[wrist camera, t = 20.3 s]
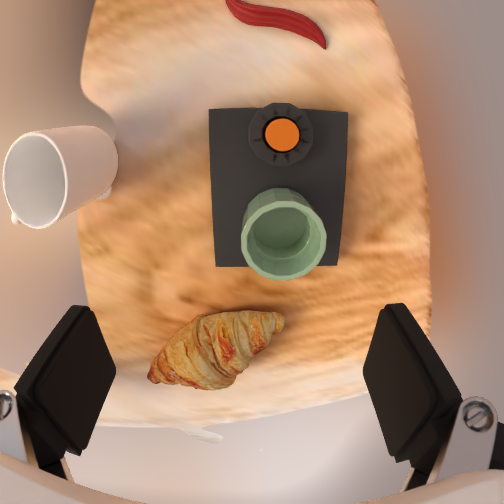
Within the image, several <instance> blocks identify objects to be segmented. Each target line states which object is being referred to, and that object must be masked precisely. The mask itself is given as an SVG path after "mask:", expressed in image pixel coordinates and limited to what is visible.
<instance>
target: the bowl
mask: <svg viewBox="0 0 504 504" xmlns="http://www.w3.org/2000/svg"><path fill="white" fill-rule="evenodd" d="M326 239H327V234H326V231H325V228H324V225H323V222H322V220H321V218H320V217H319V215H318V214H317V213H316V211H315V210H314V208H313V207H312V205H311V204H310V203H309V202H308V201H307V200H306V199H305V198H304V197H303V196H302V195H301V194H300V193H298V192H295V191H293V190H291V189H287V188H272V189H269V190H267V191H264V192H262V193H259V194H258V195H257V196H256V197H255V198H254V199H253V200H252V201H251V202H250V203H249V204H248V206H247V209H246V211H245V213H244V216H243V223H242V233H241V250H242V253H243V255H244V257H245V259H246V261H247V263H248V265H249V266H250V267H251V268H252V269H253V270H255V271H256V272H257V273H258V274H259V275H261V276H264V277H266V278H269V279H272V280H275V281H280V280H293V279H296V278H298V277H301V276H304V275H306V274H307V273H308V272H310V271H311V270H312V269H313V268H314V267H315V266H317V265H318V263H319V261H320V260H321V258H322V256H323V254H324V252H325V249H326Z"/></svg>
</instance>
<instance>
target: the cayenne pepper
mask: <svg viewBox="0 0 504 504" xmlns="http://www.w3.org/2000/svg"><path fill="white" fill-rule="evenodd" d="M226 3H227V5H228V8H229V9H230V11H231V12H232V14H233V15H234V16H235V17H236V18H237V19H239V20H240V21H242V22H243V23H246V24H249V25H254V26H267V27H276V28H280V29H284V30H288V31H291V32H294V33H297V34H299V35H302V36H304V37H306V38H308V39H311V40H313V41H314V42H316V43H318V44H319V45H320V46H321V47H322V48H323V49H326V40H325V37H324V34H323V32H322V30H321V29H320V28H319V26H318V25H317V24H316V23H315V22H313V21H312V20H311V19H309V18H308V17H306V16H304V15H302V14H300V13H297V12H294V11H291V10H287V9H282V8H275V7H267V6H260V5H254V4H249V3H246V2H243V1H241V0H226Z"/></svg>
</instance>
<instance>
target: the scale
mask: <svg viewBox="0 0 504 504" xmlns="http://www.w3.org/2000/svg"><path fill="white" fill-rule="evenodd" d="M277 119H288V120H290V121H292V122H293V123H294V124H295V125H296V126H297V128H298V130H299V141H298V143H297V144H296V146H295V147H293V148H292V149H290V150H288V151H278V150H276V149H274V148H272V147H271V146H270V145H269V144H268V142H267V140H266V137H265V132H266V128H267V126H268V125H269V124H270V123H271V122H272V121H274V120H277ZM347 132H348V113H347V112H337V111H326V110H312V109H299V108H297V107H295V106H294V105H292V104H290V103H272V104H270V105H268V106H266V107H264V108H227V109H209V144H210V172H211V195H212V214H213V232H214V248H215V263H216V267H250V266H249V265H248V263H247V261H246V259H245V257H244V255H243V253H242V250H241V233H242V223H243V216H244V213H245V211H246V209H247V206H248V204H249V203H250V202H251V201H252V200H253V199H254V198H255V197H256V196H257V195H258V194H259V193H262V192H264V191H267V190H269V189H272V188H287V189H291V190H293V191H295V192H298V193H300V194H301V195H302V196H303V197H304V198H305V199H306V200H307V201H308V202H309V203H310V204H311V205H312V207H313V208H314V210H315V211H316V213H317V214H318V215H319V217H320V218H321V220H322V222H323V225H324V228H325V231H326V234H327V239H326V249H325V252H324V254H323V256H322V258H321V260H320V261H319V263H318V265H317V266H336V265H337V262H338V254H339V246H340V236H341V227H342V216H343V205H344V192H345V177H346V159H347Z"/></svg>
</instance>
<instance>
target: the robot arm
mask: <svg viewBox="0 0 504 504" xmlns="http://www.w3.org/2000/svg"><path fill="white" fill-rule="evenodd" d="M115 375H116V367H115V364H114V362H113V360H112V357H111V355H110V353H109V350H108V348H107V345H106V343H105V340H104V338H103V335H102V333H101V330H100V327H99V325H98V322H97V319H96V317H95V314H94V312H93V311H91V310H90V308H89V307H88V306H79V305H73V306H71V307H70V308H69V310H68V311H67V312H66V314H65V315H64V316H63V317H62V319H61V320H60V321H59V323H58V324H57V325H56V327H55V328H54V329H53V331H52V332H51V333H50V335H49V336H48V338H47V339H46V340H45V342H44V343H43V345H42V346H41V347H40V349H39V350H38V352H37V353H36V354H35V356H34V357H33V359H32V360H31V362H30V363H29V365H28V366H27V368H26V369H25V371H24V372H23V374H22V375H21V377H20V378H19V380H18V382H17V383H16V385H15V386H14V389H15V391H16V392H17V395H16V396H14V394H13V393H12V392H10V391H8V390H0V504H145V503H141V502H136V501H132V500H128V499H123V498H120V497H116V496H113V495H109V494H105V493H102V492H99V491H96V490H92V489H90V488H87V487H83V486H81V485H78V484H76V483H74V480H73V478H72V475H71V473H70V470H69V468H68V465H67V463H66V460H65V457H64V454H65V451H67V452H69V453H72V454H75V455H78V456H80V455H81V453H82V450H84V449H86V447H87V445H88V443H89V440H90V437H91V435H92V432H93V429H94V427H95V424H96V421H97V419H98V416H99V414H100V411H101V409H102V406H103V404H104V401H105V399H106V397H107V394H108V392H109V389H110V387H111V385H112V382H113V380H114V378H115ZM363 376H364V379H365V382H366V385H367V388H368V391H369V393H370V396H371V399H372V402H373V405H374V408H375V411H376V414H377V417H378V420H379V423H380V426H381V430H382V432H383V436H384V439H385V442H386V446H387V449H388V452H389V454H390V455H391V456H394V457H395V460H396V463H398V462H402V461H405V460H409V461H410V464H411V470H410V472H409V474H408V476H407V478H406V480H405V482H404V484H403V486H402V488H401V490H400V492H399V493H398V494H394V495H391V496H387V497H383V498H379V499H375V500H371V501H366V502H362V503H357V504H504V424H502V423H500V422H498V415H497V412H496V409H495V408H494V406H493V405H492V404H491V403H490V402H489V401H488V400H486V399H484V398H482V397H477V396H475V397H469V398H467V399H465V400H464V401H463V399H462V397H461V393H460V391H459V390H458V388H457V386H456V384H455V383H454V381H453V379H452V377H451V376H450V374H449V372H448V370H447V369H446V367H445V366H444V364H443V362H442V360H441V359H440V357H439V356H438V354H437V353H436V351H435V349H434V348H433V346H432V345H431V343H430V341H429V340H428V338H427V337H426V335H425V334H424V332H423V330H422V329H421V327H420V326H419V324H418V323H417V321H416V320H415V318H414V317H413V315H412V314H411V313H410V311H409V310H408V308H407V307H406V305H405V304H404V303H395V304H387V305H386V306H385V308H384V309H381V310H380V313H379V316H378V320H377V323H376V327H375V331H374V334H373V337H372V341H371V344H370V347H369V351H368V354H367V357H366V360H365V363H364V366H363Z"/></svg>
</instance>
